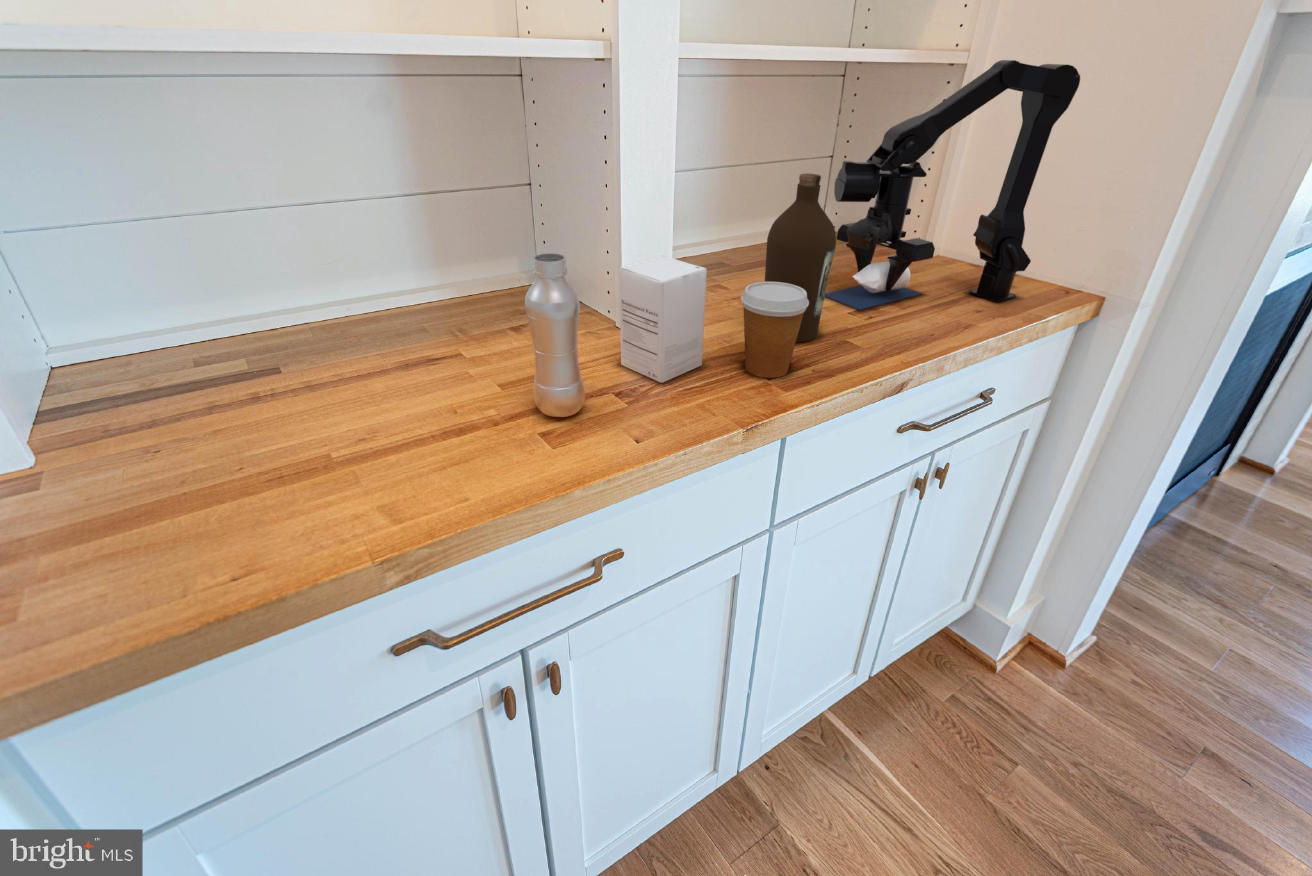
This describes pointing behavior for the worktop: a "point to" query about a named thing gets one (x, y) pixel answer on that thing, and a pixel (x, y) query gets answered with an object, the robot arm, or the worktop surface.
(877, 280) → the white tapered cylinder
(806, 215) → the olive oil
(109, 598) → the worktop surface
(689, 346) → the white product box
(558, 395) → the plastic bottle
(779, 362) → the disposable coffee cup
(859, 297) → the cloth
